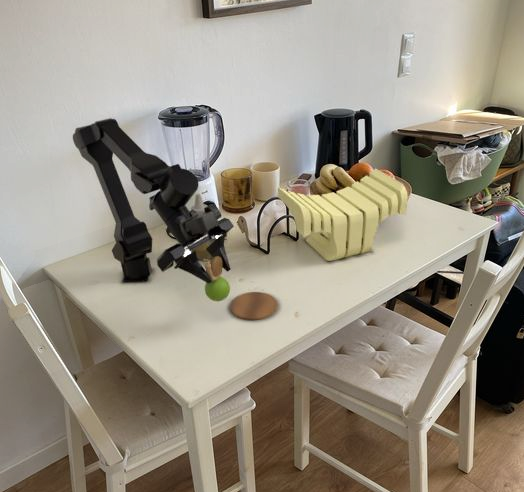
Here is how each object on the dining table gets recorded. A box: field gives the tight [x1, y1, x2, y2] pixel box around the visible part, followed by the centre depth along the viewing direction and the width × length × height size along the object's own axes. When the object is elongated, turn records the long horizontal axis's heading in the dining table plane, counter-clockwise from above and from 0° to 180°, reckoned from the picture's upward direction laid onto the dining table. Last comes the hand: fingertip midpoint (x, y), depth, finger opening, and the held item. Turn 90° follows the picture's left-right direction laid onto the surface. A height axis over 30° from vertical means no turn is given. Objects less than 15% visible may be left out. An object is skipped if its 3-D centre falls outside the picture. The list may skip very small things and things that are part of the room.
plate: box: [230, 291, 278, 321], centre depth 122 cm, size 11×11×1 cm
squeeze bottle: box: [190, 193, 213, 261], centre depth 139 cm, size 8×8×18 cm
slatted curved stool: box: [277, 168, 409, 262], centre depth 140 cm, size 30×16×18 cm, turn 112°
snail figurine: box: [203, 256, 231, 302], centre depth 110 cm, size 5×6×12 cm
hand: (219, 276), depth 109 cm, fingers closed on snail figurine, 5 cm apart
